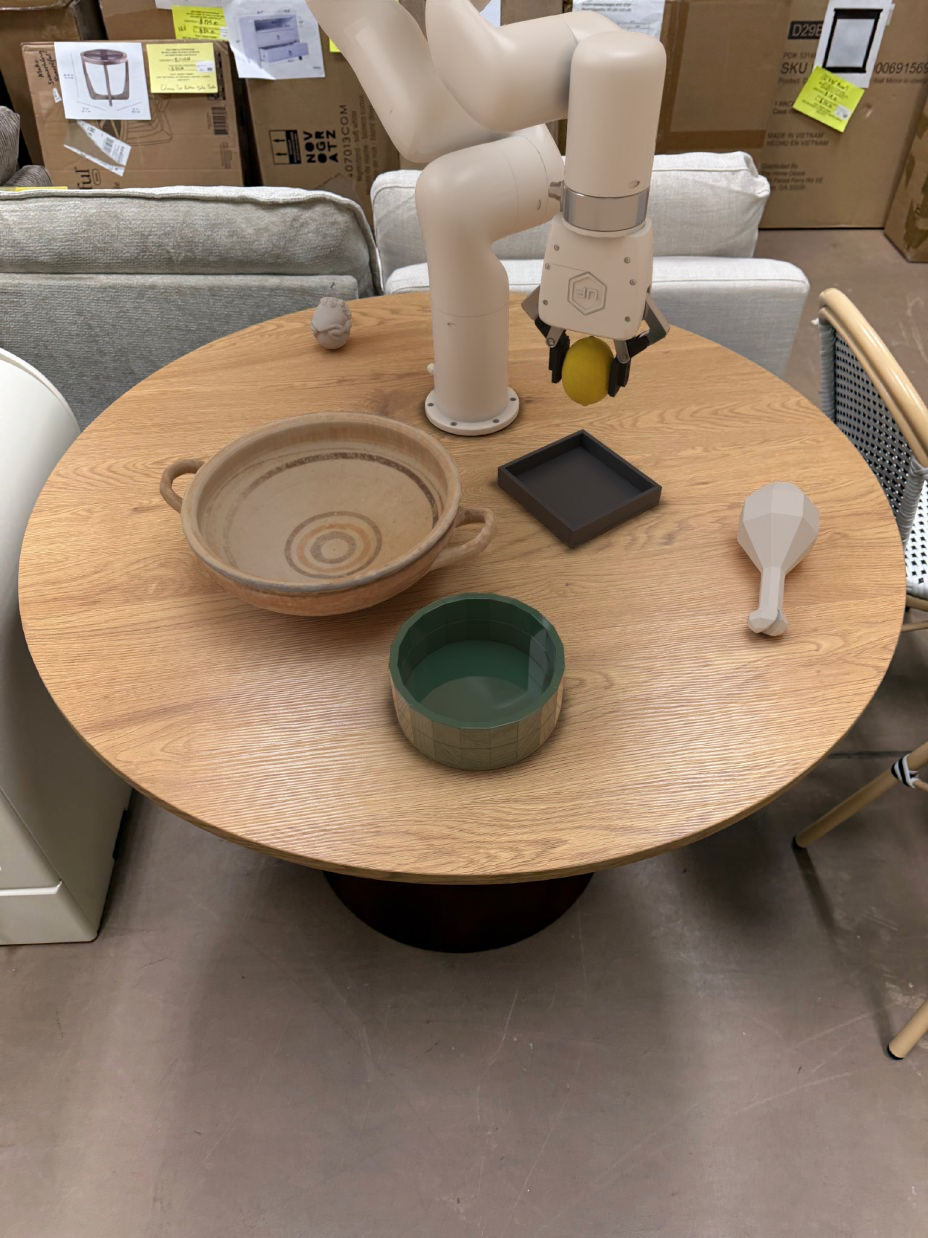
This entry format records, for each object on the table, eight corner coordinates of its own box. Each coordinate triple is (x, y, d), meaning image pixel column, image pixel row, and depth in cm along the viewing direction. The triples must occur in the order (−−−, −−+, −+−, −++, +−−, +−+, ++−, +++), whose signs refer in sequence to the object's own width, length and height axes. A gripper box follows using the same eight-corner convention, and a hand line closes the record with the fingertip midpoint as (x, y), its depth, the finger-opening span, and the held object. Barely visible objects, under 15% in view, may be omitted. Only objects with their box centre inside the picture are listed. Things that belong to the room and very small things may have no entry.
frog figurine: (363, 337, 123) (357, 293, 118) (342, 360, 119) (335, 315, 113) (327, 331, 125) (320, 287, 119) (305, 354, 120) (297, 309, 115)
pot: (365, 683, 79) (357, 640, 74) (496, 614, 84) (496, 569, 79) (455, 801, 70) (452, 760, 65) (594, 715, 76) (601, 671, 71)
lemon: (610, 391, 89) (618, 323, 83) (611, 421, 86) (619, 351, 80) (559, 390, 90) (564, 322, 84) (558, 419, 86) (563, 350, 80)
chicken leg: (707, 635, 83) (758, 600, 76) (724, 499, 91) (772, 456, 84) (777, 664, 84) (833, 633, 77) (787, 527, 93) (840, 488, 86)
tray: (497, 484, 99) (497, 466, 97) (581, 445, 103) (582, 428, 101) (571, 549, 91) (573, 531, 89) (659, 504, 95) (662, 486, 93)
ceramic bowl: (119, 620, 85) (83, 550, 78) (242, 458, 103) (222, 389, 96) (457, 693, 78) (454, 623, 70) (526, 505, 96) (529, 434, 88)
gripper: (499, 204, 73) (498, 383, 86) (688, 235, 67) (655, 421, 81) (531, 175, 77) (526, 349, 91) (711, 202, 72) (676, 383, 85)
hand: (587, 381), depth 86 cm, fingers closed on lemon, 5 cm apart
